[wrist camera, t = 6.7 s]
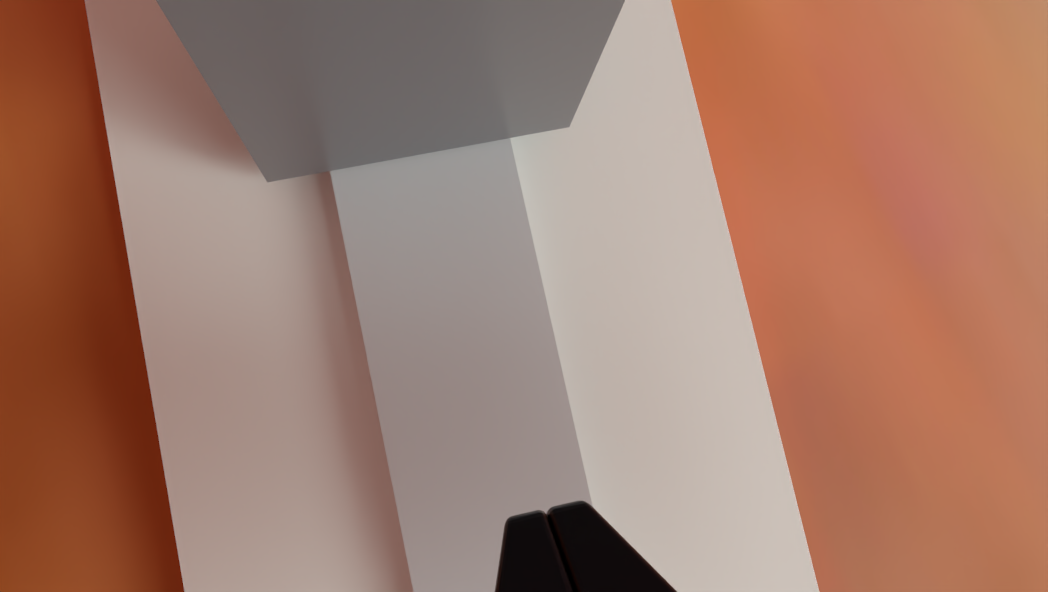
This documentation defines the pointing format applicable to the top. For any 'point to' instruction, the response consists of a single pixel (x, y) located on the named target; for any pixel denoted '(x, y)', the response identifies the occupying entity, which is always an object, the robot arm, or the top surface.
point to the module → (389, 73)
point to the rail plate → (446, 337)
